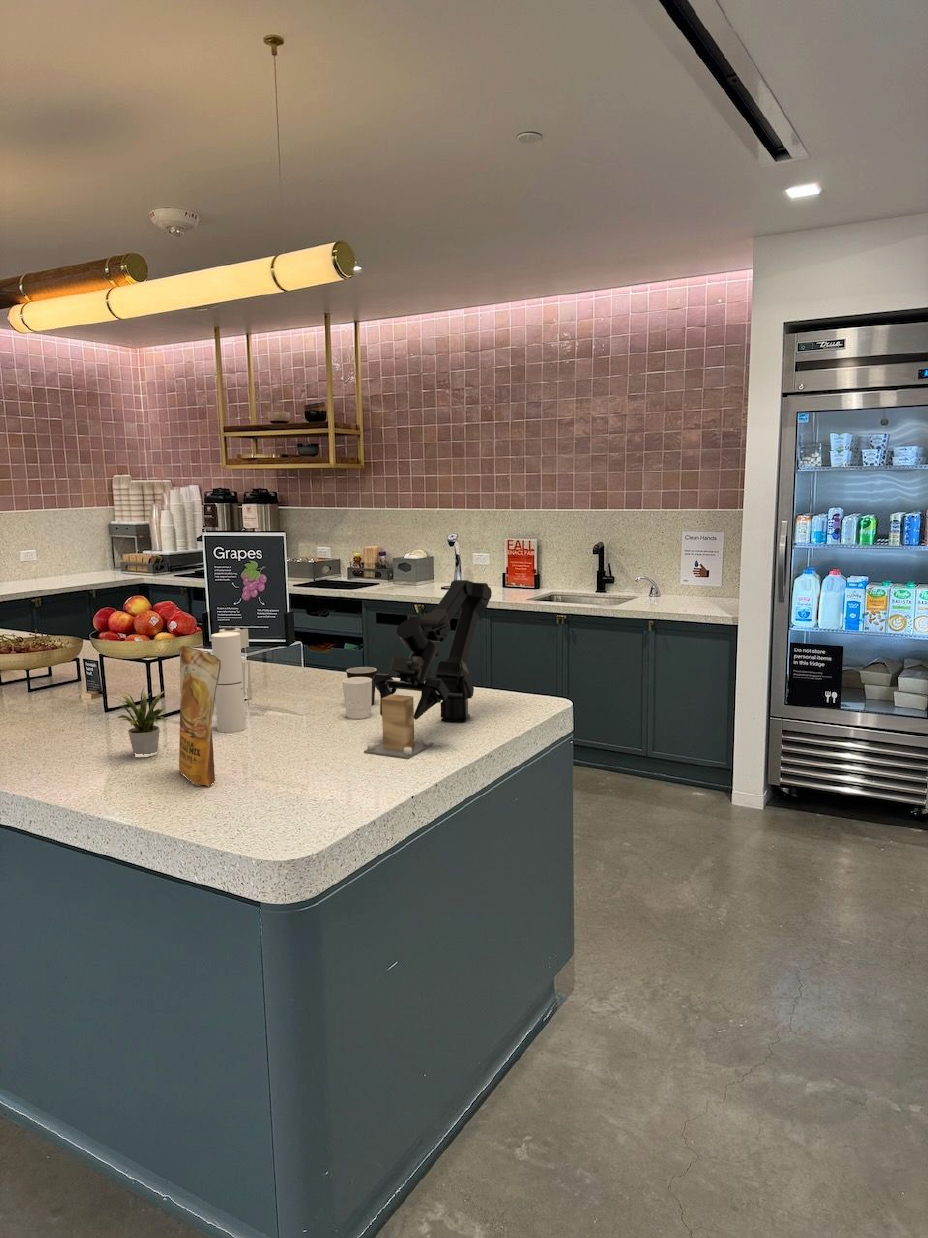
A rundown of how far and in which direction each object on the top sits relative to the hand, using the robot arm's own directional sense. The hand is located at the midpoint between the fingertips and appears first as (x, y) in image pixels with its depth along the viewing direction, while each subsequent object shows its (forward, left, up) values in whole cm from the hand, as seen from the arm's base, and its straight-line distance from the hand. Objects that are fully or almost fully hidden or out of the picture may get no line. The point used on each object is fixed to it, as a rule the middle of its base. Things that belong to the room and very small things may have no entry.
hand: (398, 716), depth 213 cm
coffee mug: (+23, -42, -8) cm, 48 cm away
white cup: (+20, -28, -8) cm, 35 cm away
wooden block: (0, 0, -7) cm, 7 cm away
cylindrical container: (+49, -11, -8) cm, 50 cm away
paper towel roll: (+62, -40, -8) cm, 74 cm away
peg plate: (0, 0, -8) cm, 8 cm away
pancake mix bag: (+38, +26, -8) cm, 46 cm away
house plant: (+60, +14, -8) cm, 62 cm away
